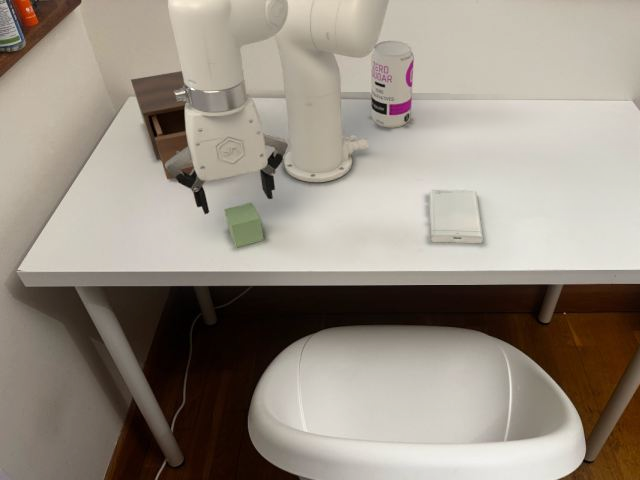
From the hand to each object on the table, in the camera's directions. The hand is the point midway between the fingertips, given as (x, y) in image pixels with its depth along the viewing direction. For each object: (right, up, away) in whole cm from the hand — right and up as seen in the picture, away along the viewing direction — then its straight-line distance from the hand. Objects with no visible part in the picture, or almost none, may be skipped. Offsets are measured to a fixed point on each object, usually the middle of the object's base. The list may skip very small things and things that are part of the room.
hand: (236, 201), depth 86 cm
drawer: (-13, +11, +19) cm, 25 cm away
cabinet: (-18, +18, +27) cm, 37 cm away
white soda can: (+24, +22, +33) cm, 47 cm away
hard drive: (+34, -2, +10) cm, 36 cm away
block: (0, -5, +5) cm, 7 cm away
